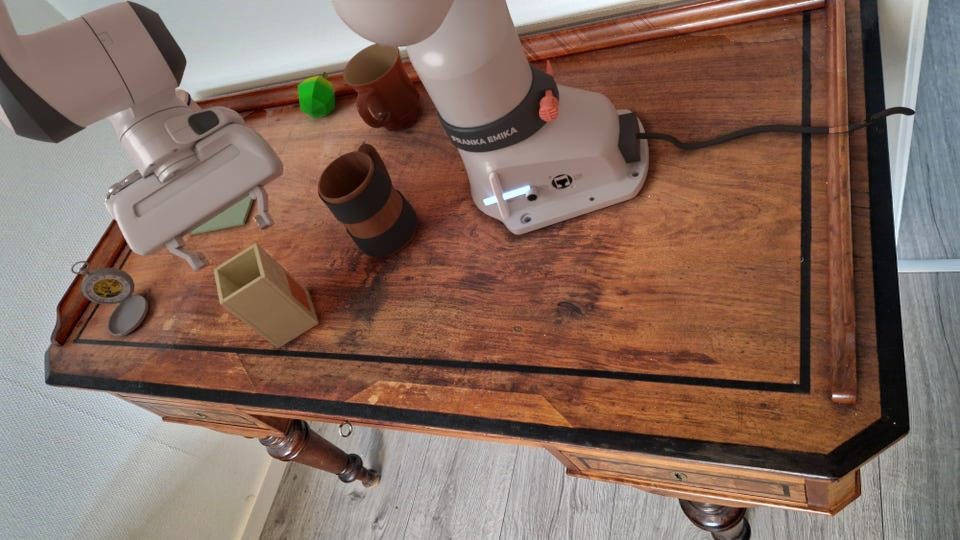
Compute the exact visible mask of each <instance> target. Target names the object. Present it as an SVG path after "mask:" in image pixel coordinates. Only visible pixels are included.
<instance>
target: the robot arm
mask: <svg viewBox="0 0 960 540" xmlns="http://www.w3.org/2000/svg"><path fill="white" fill-rule="evenodd" d="M330 1H331V4H332V6H333V9H334V10H335V12H336V14H337V16H338V18H340V20H341V21H342V22H343V23H344V25H346V26H347V28H349V29H350V30H351V31H352V32H353V33H355V34H356V35H358V36H359V37H361V38H363V39H365V40H367V41H369V42H371V43H373V44H380V45H384V46H391V47H398V48H402V47H403V48H404V47H405V48H406V52H407V56H408V59H409V61H410V64H411V65H412V67H413V69H414V71H415V73H416V74H417V76H418V78H419V80H420V82H421V83H422V85H423V86H424V89H425V91H426V92H427V94H428V96H429V98H430V99H431V101H432V103H433V105H434V106H435V108H436V109H435V113H436V116H437V119H438V121H439V123H440V125H441V127H442V130H443V131H444V133H445V135H446V137H447V138H448V140H449V141H450V144H451V145H452V146H453V147H454V148H456V149H457V151H458V153H459V155H460V157H461V160H462V162H463V165H464V169H465V172H466V174H467V178H468V182H469V187H470V194H471V198H472V201H473V203H474V204H475V206H476V207H477V208H478V209H479V210H480V211H481V212H482V213H484V214H485V215H487V216H488V217H491V218H493V219H495V220H498V221H500V222H502V223H503V225H504V226H505V227H506V228H507V229H508V231H509V232H511V234H512V235H513V234H514V235H518V236H519V235H524V234H527V233H531V232H533V231H536V230H537V231H538V230H540V229H542V228H546V227H549V226H552V225H555V224H559V223H561V222H564V221H568V220H571V219H573V218H576V217H580V216H582V215H586V214H589V213H592V212H595V211H598V210H602V209H604V208H607V207H612V206H614V205H618V204H620V203H622V202H626V201H628V200H631V199H634V198H635V197H637V196H638V194H639V193H640V191H641V190H642V188H643V186H644V185H645V182H646V180H647V177H648V171H649V165H650V148H649V142H648V140H659V141H660V140H661V141H667V142H669V143H671V144H672V145H673V146H675V148H677V149H680V150H684V151H685V150H686V151H695V150H700V149H705V148H708V147H712V146H716V145H719V144H723V143H726V142H729V141H732V140H734V139H738V138H741V137H744V136H748V135H753V134H759V133H770V132H771V133H773V132H774V133H777V132H778V133H779V132H783V133H785V132H787V133H796V134H797V133H798V134H813V135H830V134H829V127H830V126H811V125H810V126H808V125H797V124H796V125H795V124H794V125H793V124H763V125H757V126H756V125H755V126H751V127H745V128H742V129H739V130H735V131H733V132H730V133H727V134H724V135H722V136H719V137H716V138H712V139H709V140H706V141H702V142H693V143H691V142H690V143H689V142H688V143H687V142H682V141H680V140H679V139H678V138H677V137H675V136H674V135H671V134H669V133H664V132H663V133H662V132H646V131H645V129H644V128H645V127H644V125H643V123H642V122H641V120H640V118H639V117H638V116H637V112H636V111H631V110H630V109H626V108H625V109H624V108H623V109H622V108H621V109H616V107H615V105H614V104H613V103H612V101H611V100H610V99H609V98H608V97H607V96H606V95H604V94H603V93H601V92H597V91H593V90H592V91H591V90H587V89H583V88H582V89H581V88H577V87H572V86H569V85H564V84H560V83H556V81H555V78H554V69H553V66H552V64H551V61H550V60H549V59H547V60H546V72H545V71H543V70H541V69H539V68H538V67H536V66H535V65H534V64H533V63H531V62H530V61H529V60H528V57H527V55H526V52H525V50H524V47H523V45H522V42H521V40H520V37H519V34H518V32H517V28H516V26H515V24H514V21H513V18H512V16H511V12H510V9H509V5H508V3H507V0H330ZM11 17H12V16H11V15H10V12H9V10H8V7H7V4H6V1H5V0H0V121H1V122H2V123H3V124H4V125H5V127H7V128H9V129H10V130H11V131H13V132H14V133H15V135H17V136H18V137H22V138H26V139H29V140H33V141H37V142H42V143H49V144H50V143H51V144H59V143H61V142H63V141H65V140H67V139H68V138H71V137H72V136H74V135H76V134H79V133H80V132H82V131H83V130H86V129H87V127H88V126H91V125H93V124H95V123H98V122H100V121H102V120H105V119H106V120H108V121H109V122H110V124H111V125H112V126H113V128H114V130H115V133H116V138H117V139H118V142H119V143H120V145H121V146H122V148H123V149H124V151H125V152H126V154H127V156H128V157H129V159H130V161H132V163H133V165H134V166H135V169H136V170H134V171H133V172H131V173H130V174H128V175H127V176H125V177H124V178H123V179H121V180H120V181H118V182H115V183H114V184H112V185H111V186H110V187H109V188H108V192H107V193H106V195H105V198H104V207H105V209H106V210H107V212H108V213H109V215H110V216H111V218H113V220H114V221H116V223H117V225H118V228H119V230H120V232H121V234H122V236H123V238H124V240H125V241H126V244H127V245H128V247H129V249H130V250H131V251H132V252H133V253H134V254H136V255H140V256H143V257H148V256H153V255H156V254H158V253H160V252H162V251H164V250H165V249H166V248H167V250H168V252H170V253H171V254H173V255H174V256H177V257H179V258H181V259H183V260H186V261H187V263H188V264H189V266H190V267H191V269H192V270H193V271H194V272H201V271H202V270H203V269H205V268H207V267H209V265H210V262H209V260H208V259H207V258H206V255H205V254H204V252H202V251H201V252H196V253H193V252H192V251H190V250H189V249H186V248H185V247H186V246H187V243H186V241H185V240H184V237H185V236H187V235H188V234H191V232H192V231H193V230H195V229H196V228H198V227H200V226H201V225H203V224H204V223H206V222H208V221H209V220H211V219H212V218H214V217H216V216H217V215H219V214H220V213H222V212H224V211H225V210H227V209H228V208H230V207H232V206H233V205H235V204H236V203H238V202H240V201H241V200H243V199H244V198H246V197H248V196H249V195H250V196H251V198H252V199H254V200H255V201H256V200H257V212H258V213H257V214H256V215H255V216H253V220H254V222H255V223H257V226H258V227H259V229H260V230H261V231H266V230H268V229H270V228H271V227H272V226H274V225H275V224H276V223H275V220H274V218H273V217H272V216H271V213H270V212H269V194H268V192H267V191H266V189H265V188H264V187H265V186H267V185H268V184H270V183H272V182H273V181H274V180H276V179H278V178H280V177H281V176H283V174H284V162H283V161H282V159H281V158H280V156H279V154H277V152H276V151H275V150H274V148H273V147H272V145H270V143H269V142H268V141H267V140H266V139H265V137H264V136H262V134H260V132H258V131H257V130H255V129H254V128H250V127H248V126H247V124H246V121H245V120H244V118H243V117H242V115H241V114H239V112H238V111H235V110H234V109H231V108H229V107H226V106H222V105H215V106H210V107H208V108H207V107H206V108H203V109H202V110H199V111H195V112H192V110H191V109H190V107H189V106H188V105H187V104H186V103H185V102H183V101H182V100H181V99H180V97H179V96H178V95H177V93H176V91H175V90H177V88H179V87H180V85H181V83H182V81H183V77H184V74H185V71H186V67H187V64H188V63H187V58H186V55H185V54H184V52H183V50H182V49H181V46H180V45H179V44H178V42H177V41H176V39H175V38H174V36H173V35H172V33H171V32H170V30H169V29H168V27H167V26H166V23H164V22H165V21H164V20H163V19H162V18H161V16H160V15H159V13H158V12H156V11H155V10H153V9H151V8H149V7H147V6H145V5H144V4H143V5H142V4H140V3H139V2H138V3H137V2H134V1H131V0H127V1H120V2H115V3H111V4H110V5H105V6H103V7H100V8H97V9H95V10H92V11H90V12H85V13H84V14H81V15H80V16H78V17H75V18H73V19H70V20H67V21H65V22H61V23H57V24H56V25H53V26H51V27H48V28H45V29H42V30H39V31H37V32H33V33H30V34H19V33H17V30H16V27H15V25H14V23H13V19H12V18H11ZM884 110H885V111H884ZM884 110H881V111H879V112H877V113H874V114H872V115H870V116H871V120H872V118H874V119H877V118H880V117H881V116H882V118H881V119H879V120H876V121H873V122H869V123H864V124H858V122H860V121H861V120H860V121H857V122H854V123H850V124H847V125H848V127H849V132H848V133H850V132H854V131H858V130H861V129H863V128H866V127H867V126H870V125H872V124H875V123H877V122H878V121H880V120H883V119H885V118H887V117H890V116H893V115H903V116H908V117H911V116H914V115H915V114H916V111H915V110H914V109H912V108H910V107H906V106H892V107H887V108H885V109H884ZM883 116H884V118H883ZM254 200H253V201H254Z"/></svg>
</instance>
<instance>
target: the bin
mask: <svg viewBox="0 0 960 540" xmlns="http://www.w3.org/2000/svg"><path fill="white" fill-rule="evenodd" d="M213 273H214V280H215V284H216V290H217V296H218V301H219V304H220V306H221V307H223V308H224V309H226V310H227V311H228V312H229V313H231V314H232V315H233V316H235V317H236V318H238V319H239V320H240V321H241V322H242V323H244V324H245V325H247V326H248V327H249V328H251V329H252V330H253V331H254V332H256V333H257V334H259V335H260V336H261V337H262V338H264V339H265V340H266V341H267V342H269V343H271V344H272V345H273V346H274V347H276V348H277V349H280V348H281V347H284V345H286V344H288V343H290V342H292V341H293V340H295V339H296V338H297V337H299V336H301V335H303V334H304V333H306V332H308V331H309V330H310V329H312V328H313V327H316V326H317V325H319V320H318V316H317V314H316V311H315V306H314V304H313V301H312V298H311V295H310V292H309V290H308V289H307V288H306V287H305V286H303V284H302V283H301V282H300V281H298V280H297V279H296V278H295V277H294V276H293V275H292V274H291V273H290V272H289V271H288V270H287V269H286V268H285V267H283V265H282V264H280V263H279V262H278V261H277V260H276V259H275V258H274V257H273V256H272V255H270V253H268V252H267V251H266V250H265V249H264V248H263V247H262V246H261V245H260V244H259V243H257V242H255V243H253V244H252V245H250V246H248V247H247V248H245V249H243V250H242V251H240V252H239V253H237V254H236V255H234V256H232V257H231V258H229V259H227V260H226V261H225V262H222V263H221V264H219V265H217V267H215V268H213Z"/></svg>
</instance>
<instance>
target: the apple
mask: <svg viewBox="0 0 960 540" xmlns="http://www.w3.org/2000/svg"><path fill="white" fill-rule="evenodd" d="M328 77H329V74H328V73H327V72H325V71H323V73H322V75H315V76H312V77H308V78H306V79H304V80H303V81H302V82H300V83H299V84H297V91H298V101H299V108H300V111H301V112H303V113H304V114H306V115H308V116H309V117H312V119H316V118H321V117H327V115H329V114H330V113H331V112H332V111H334V109H336V99H335V98H336V97H335V89H334V84H333V83H334V82H332V81H328V80H329V79H327V78H328Z"/></svg>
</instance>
